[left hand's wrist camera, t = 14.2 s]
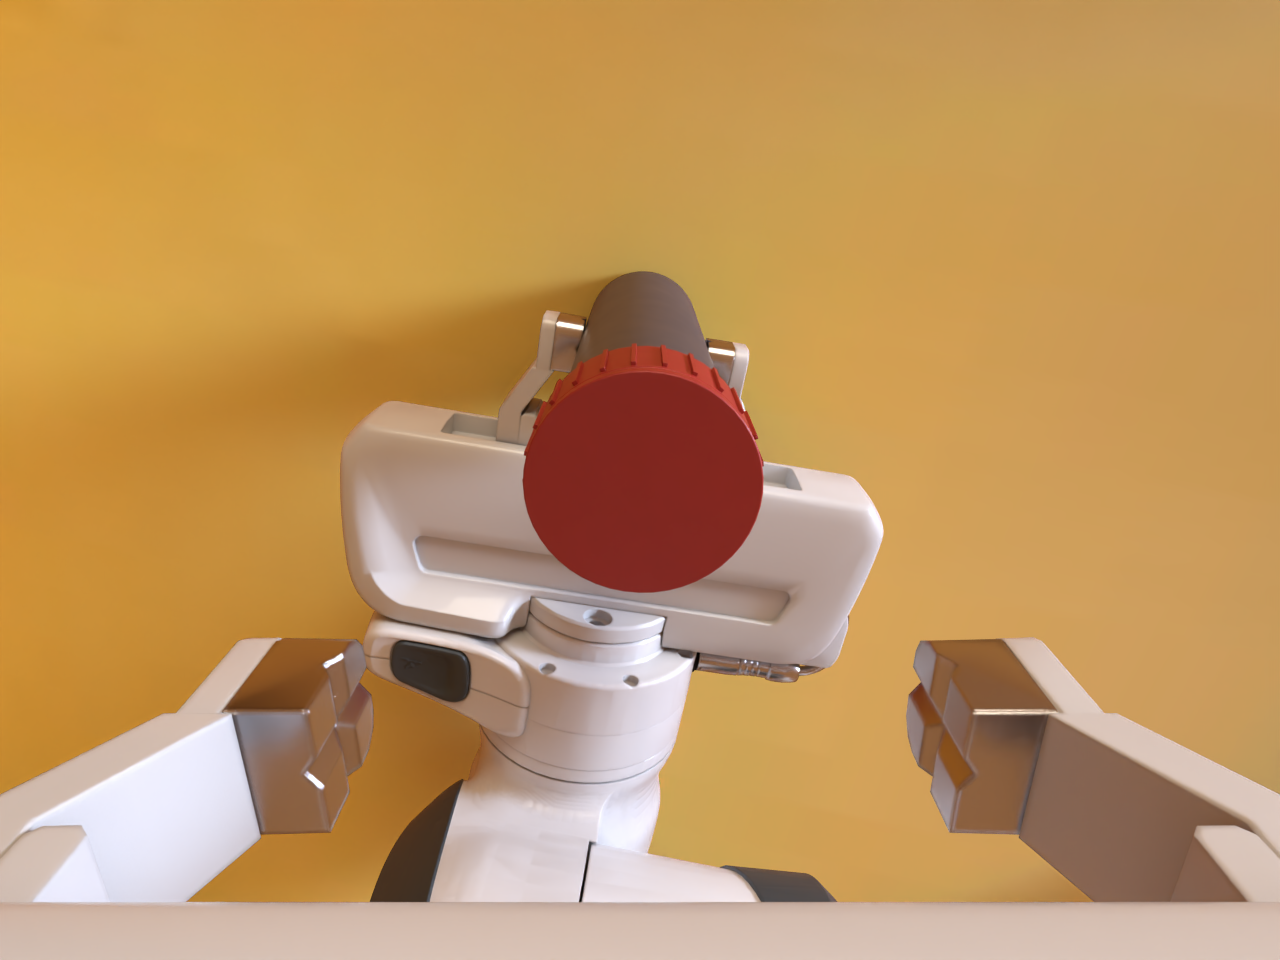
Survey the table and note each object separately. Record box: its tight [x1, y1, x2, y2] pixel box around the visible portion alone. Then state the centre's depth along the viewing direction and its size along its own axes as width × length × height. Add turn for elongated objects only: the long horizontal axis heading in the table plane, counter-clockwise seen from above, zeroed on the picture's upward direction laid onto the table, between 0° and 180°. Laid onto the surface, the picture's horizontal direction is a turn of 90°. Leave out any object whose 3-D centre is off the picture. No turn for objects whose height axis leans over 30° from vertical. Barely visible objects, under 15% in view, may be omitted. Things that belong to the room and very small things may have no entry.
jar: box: [570, 272, 714, 373], centre depth 25 cm, size 4×4×17 cm
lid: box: [522, 343, 764, 593], centre depth 17 cm, size 5×5×2 cm
